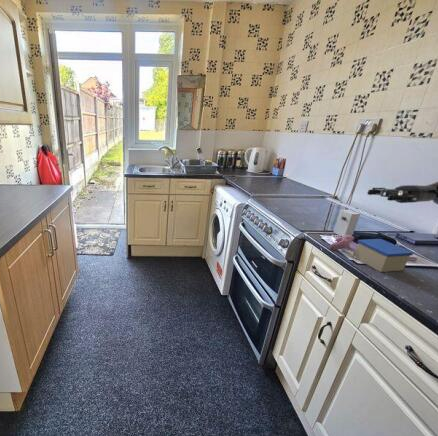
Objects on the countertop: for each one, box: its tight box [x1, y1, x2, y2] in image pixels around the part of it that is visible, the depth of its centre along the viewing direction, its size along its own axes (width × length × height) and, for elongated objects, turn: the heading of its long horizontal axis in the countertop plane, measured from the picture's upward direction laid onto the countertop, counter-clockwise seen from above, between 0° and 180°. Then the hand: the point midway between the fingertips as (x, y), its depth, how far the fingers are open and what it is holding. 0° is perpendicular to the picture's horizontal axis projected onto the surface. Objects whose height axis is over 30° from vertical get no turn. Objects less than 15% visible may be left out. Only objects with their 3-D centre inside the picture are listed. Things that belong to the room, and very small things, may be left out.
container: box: [353, 238, 414, 273], centre depth 86 cm, size 11×10×7 cm
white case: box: [333, 209, 361, 237], centre depth 108 cm, size 6×4×11 cm
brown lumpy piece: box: [329, 234, 356, 251], centre depth 97 cm, size 10×5×7 cm, turn 131°
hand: (378, 194), depth 105 cm, fingers open, 8 cm apart
